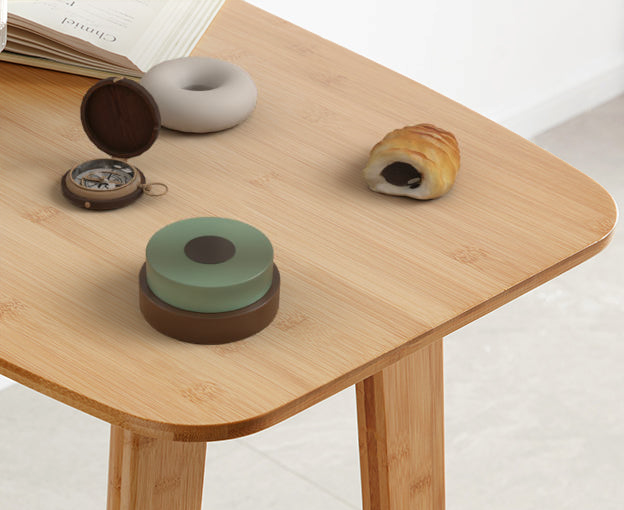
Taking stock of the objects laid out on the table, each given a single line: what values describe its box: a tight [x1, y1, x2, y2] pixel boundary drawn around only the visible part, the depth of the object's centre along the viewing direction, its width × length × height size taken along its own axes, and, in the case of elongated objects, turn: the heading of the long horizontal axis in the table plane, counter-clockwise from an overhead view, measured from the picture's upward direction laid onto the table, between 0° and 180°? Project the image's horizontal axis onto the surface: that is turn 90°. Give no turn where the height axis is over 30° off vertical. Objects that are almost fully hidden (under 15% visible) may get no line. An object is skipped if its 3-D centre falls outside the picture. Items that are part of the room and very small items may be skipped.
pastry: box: [362, 123, 461, 200], centre depth 87 cm, size 9×7×4 cm
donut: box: [139, 55, 259, 134], centre depth 94 cm, size 10×4×10 cm
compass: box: [60, 75, 169, 211], centre depth 82 cm, size 8×8×7 cm
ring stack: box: [138, 216, 281, 345], centre depth 72 cm, size 9×9×4 cm
